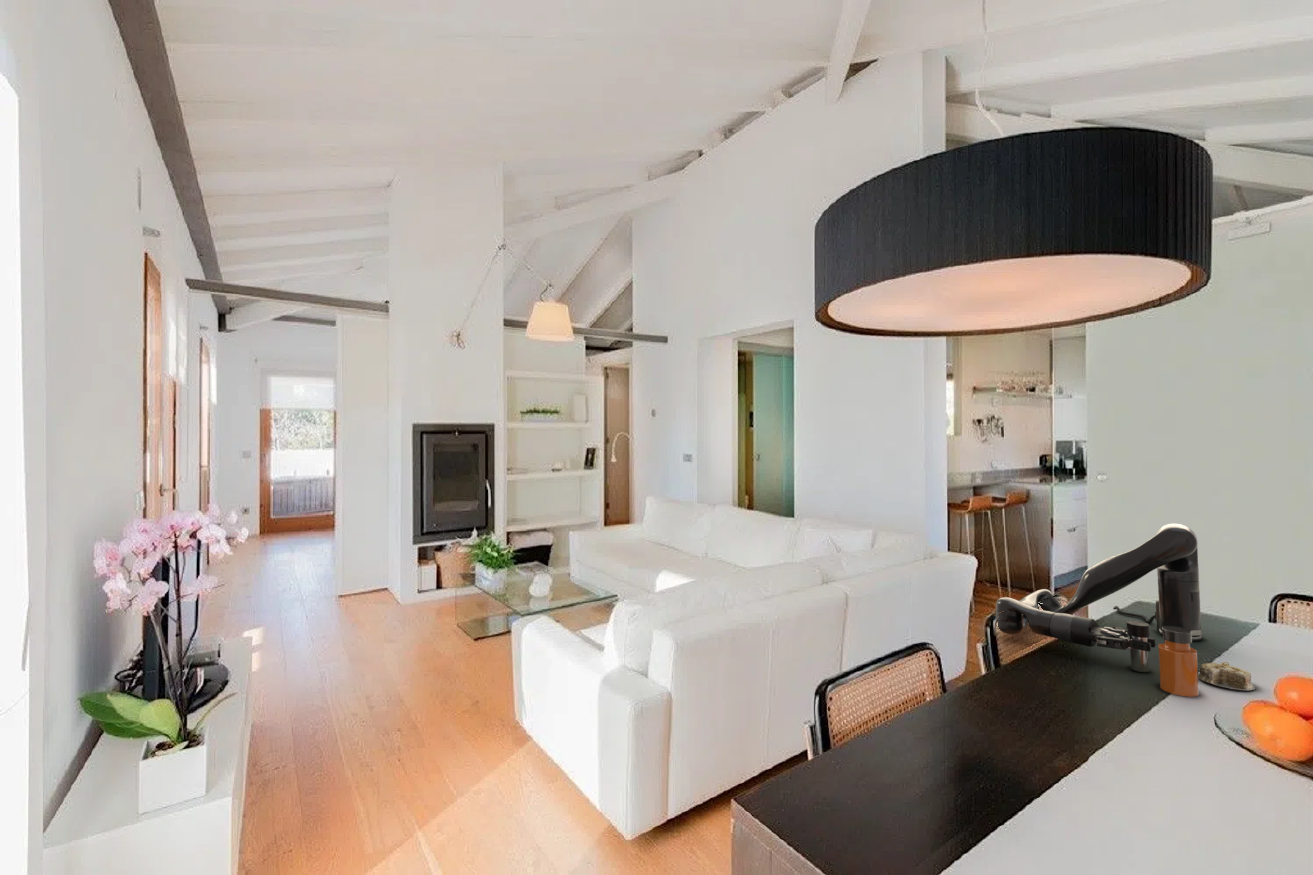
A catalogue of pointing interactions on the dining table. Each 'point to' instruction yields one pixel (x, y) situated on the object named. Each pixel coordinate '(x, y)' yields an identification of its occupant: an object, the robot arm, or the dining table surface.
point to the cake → (1226, 676)
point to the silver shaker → (1137, 657)
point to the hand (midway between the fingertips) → (1152, 645)
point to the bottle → (1178, 662)
